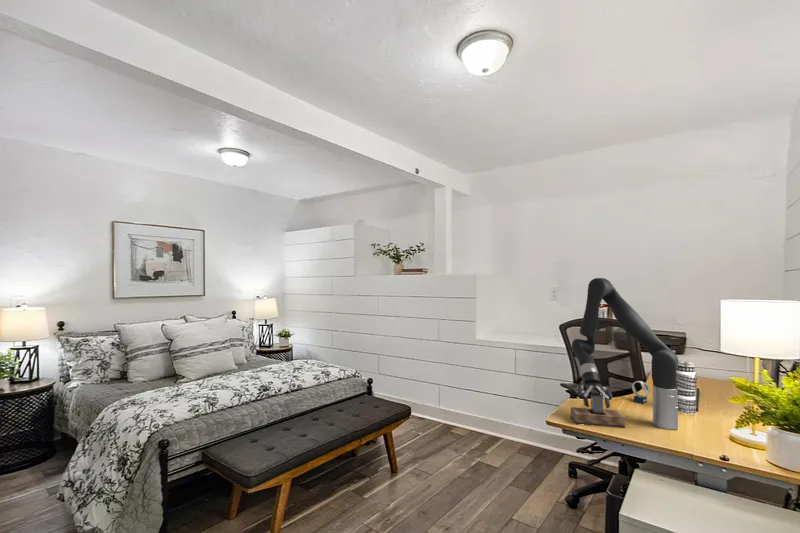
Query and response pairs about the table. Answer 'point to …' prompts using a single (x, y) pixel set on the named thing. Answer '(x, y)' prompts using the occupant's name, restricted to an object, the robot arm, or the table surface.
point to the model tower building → (686, 387)
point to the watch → (638, 397)
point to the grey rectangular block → (596, 404)
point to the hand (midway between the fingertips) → (597, 406)
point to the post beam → (597, 417)
